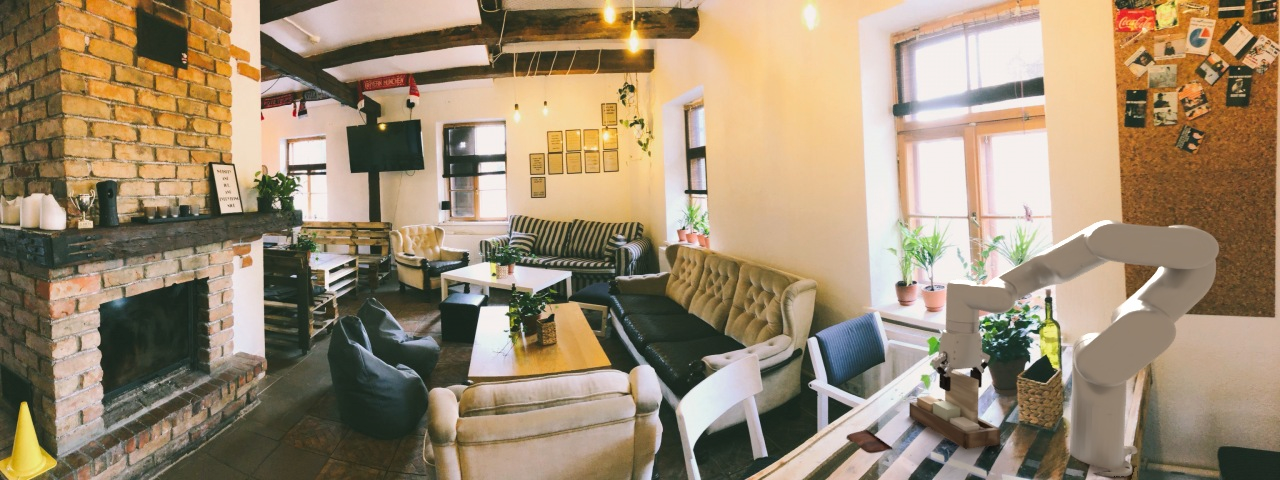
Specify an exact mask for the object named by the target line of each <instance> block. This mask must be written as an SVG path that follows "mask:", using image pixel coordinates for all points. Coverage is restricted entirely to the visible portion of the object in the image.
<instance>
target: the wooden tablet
mask: <svg viewBox="0 0 1280 480" xmlns="http://www.w3.org/2000/svg"><path fill="white" fill-rule="evenodd" d="M846 439H847V440H849V441H851V442H853V443H856V444H857V445H858V446H859V448H861V449H862V450H863V451H866V452H867V453H875V452H880V451H885V450H890V449H891V450H892V449H893V447H892V446H890V445H889V444H887V442H885V441H883V440H882V439H881V438H880V437H878V436H877V435H875V434H874V433H872V432H871V431H870V430H868V429H865V430H860V431H856V432H853V433H849V434H847V435H846Z"/></svg>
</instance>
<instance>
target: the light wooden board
mask: <svg viewBox="0 0 1280 480" xmlns="http://www.w3.org/2000/svg"><path fill="white" fill-rule="evenodd" d="M946 370H947V369H945V371H946ZM949 377H950V378H951V387H950V391H946V390H944V393H945V394H944V401H947V402H949V403H951V404H953V405H955V406H957V407H959V408H960V416H961V417H965V418H967V419H969V420H970V421H972V422H974V423H976V424H978V418H979V391H980V390H979V380H977V379H975V378H972V377H970V375H967V374H966V373H962V372H959V371H958V370H954V369H953V370H952V372H951V373H950V375H949Z"/></svg>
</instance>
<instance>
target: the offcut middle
mask: <svg viewBox="0 0 1280 480" xmlns="http://www.w3.org/2000/svg"><path fill="white" fill-rule="evenodd" d="M933 414H935V415H937V416H938V417H940V418H942V419H944V420H946V421H948V422H949V423H950V419H951V418H958V417H960V408H959V407H957V406H955V405H953V404H951V403H949V402H947V401H945V400H944V401H940V402H933Z"/></svg>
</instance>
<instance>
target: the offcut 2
mask: <svg viewBox="0 0 1280 480" xmlns="http://www.w3.org/2000/svg"><path fill="white" fill-rule="evenodd" d="M950 423H951V424H953V425H955V426H957V427H959V428H960V429H962V430H964V431H966V432H968V431H975V430H979V425H978V424H976V423H974V422H972V421H970V420H969V419H967V418H965V417H958V418H951V419H950Z"/></svg>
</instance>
